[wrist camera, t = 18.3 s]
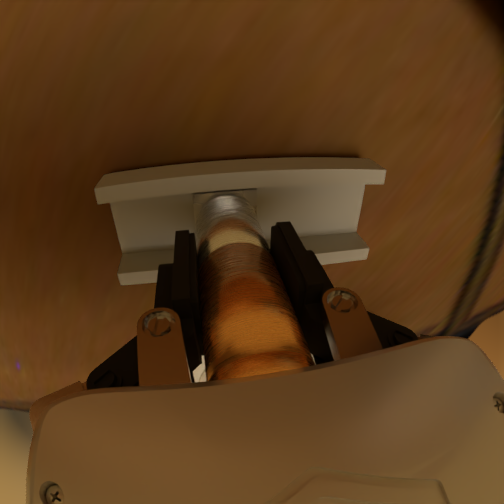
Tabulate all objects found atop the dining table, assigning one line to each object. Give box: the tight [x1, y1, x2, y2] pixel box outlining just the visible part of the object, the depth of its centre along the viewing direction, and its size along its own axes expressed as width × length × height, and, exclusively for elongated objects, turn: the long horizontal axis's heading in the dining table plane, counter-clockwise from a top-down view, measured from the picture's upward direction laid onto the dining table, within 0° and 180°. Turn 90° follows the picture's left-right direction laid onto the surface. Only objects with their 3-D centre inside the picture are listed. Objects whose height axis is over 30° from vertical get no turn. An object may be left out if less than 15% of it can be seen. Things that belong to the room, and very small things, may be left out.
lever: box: [192, 188, 315, 381], centre depth 11 cm, size 3×3×11 cm
